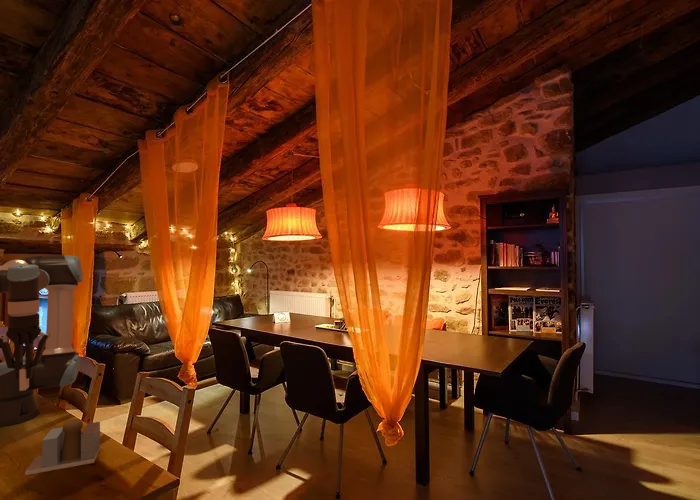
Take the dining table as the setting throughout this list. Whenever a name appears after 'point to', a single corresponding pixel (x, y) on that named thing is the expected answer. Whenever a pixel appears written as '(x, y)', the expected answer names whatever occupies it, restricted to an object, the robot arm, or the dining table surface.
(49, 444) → the block
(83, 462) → the vise
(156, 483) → the dining table surface
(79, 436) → the wooden pawn
